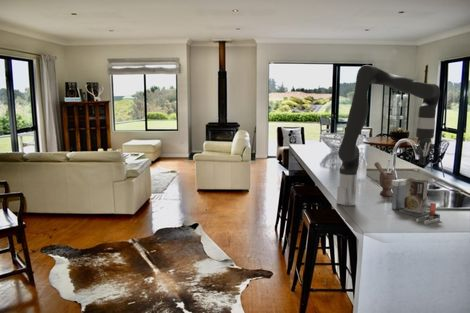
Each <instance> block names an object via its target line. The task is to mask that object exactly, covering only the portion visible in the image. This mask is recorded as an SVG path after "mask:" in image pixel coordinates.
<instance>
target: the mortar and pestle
mask: <svg viewBox="0 0 470 313" xmlns="http://www.w3.org/2000/svg"><path fill="white" fill-rule="evenodd" d="M374 167H375V168H376V169H377V171H378V172H379V184H380V187H381V188H382V190H380V193H379V195H380V196H382V197H392V195H393V191H391V189H393V185H392V180H396V174H395V173H393V172H385V171H384V169H383V168H382V165H381V164H380V163H379V162H377V161H376V162H375V163H374Z"/></svg>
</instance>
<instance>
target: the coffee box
mask: <svg viewBox="0 0 470 313" xmlns="http://www.w3.org/2000/svg"><path fill="white" fill-rule="evenodd" d="M406 179H407V180H406V187H405V202H404V208H403V209H404V210H406V211H411V212H416V213H421V214H422V213H424V212H425V211H426V210H427V199H428V186H429V185H428V184H429V180H428V179H427V180H426V179H419V178H413V177H410V178H409V177H408V178H406Z"/></svg>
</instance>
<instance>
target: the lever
mask: <svg viewBox="0 0 470 313" xmlns="http://www.w3.org/2000/svg"><path fill="white" fill-rule="evenodd" d="M429 205H430V206H429V211H430V215H429V214H428V215H429V218H428V220H429V219H433V218H436V216H435V213H436V208H437V203H436V202H435V203H434V202H431V203H430V204H429Z"/></svg>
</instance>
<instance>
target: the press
mask: <svg viewBox="0 0 470 313" xmlns="http://www.w3.org/2000/svg"><path fill="white" fill-rule="evenodd" d="M407 179H408V178H399V179H395V180H392V185H393V187H392V193H393V195H392V196H391V197H392V198H391V210H395V211H397V210H399V212H398V213H401V214H404V215H408V216H411V217H415V218H416V219H415V222H416V223H421V222H423V221H424V222H423V224H424V225H425V226H427V225H430V224H433V222H434V223H437V222H439V221H440V220H441V214H439V213H437V212H435V216H436V218H433V219H428V218H429V215H430V210H427V209H426V211H425V212H424V213H422V214H421V213H416V212H411V211H406V210H404V202H405V187H406V180H407ZM427 214H428V215H427ZM420 216H421V217H420ZM427 219H428V220H427Z"/></svg>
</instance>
